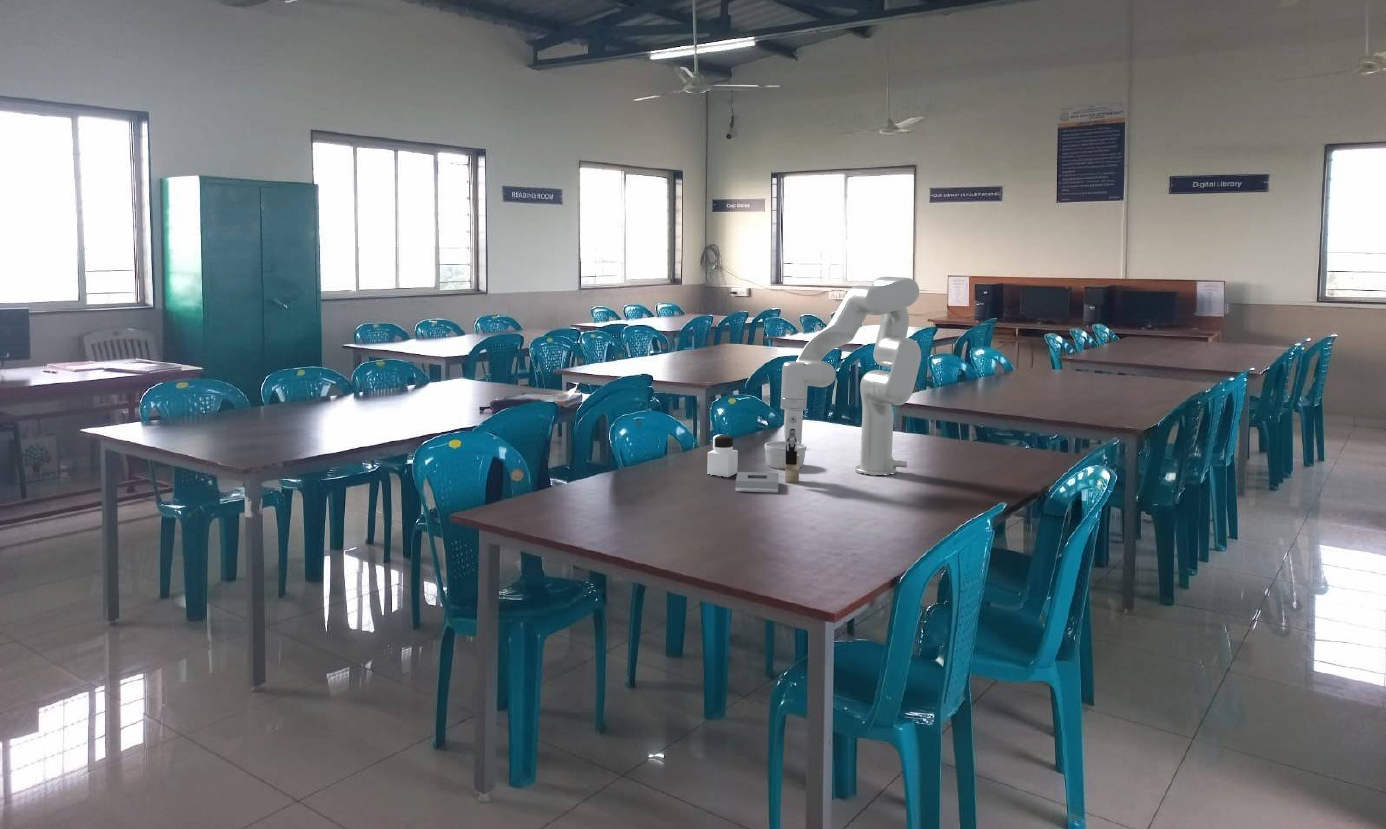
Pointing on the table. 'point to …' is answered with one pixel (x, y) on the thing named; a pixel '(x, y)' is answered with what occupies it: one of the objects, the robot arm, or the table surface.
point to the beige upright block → (792, 472)
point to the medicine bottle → (722, 457)
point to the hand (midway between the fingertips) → (790, 461)
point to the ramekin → (781, 454)
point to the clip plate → (757, 482)
